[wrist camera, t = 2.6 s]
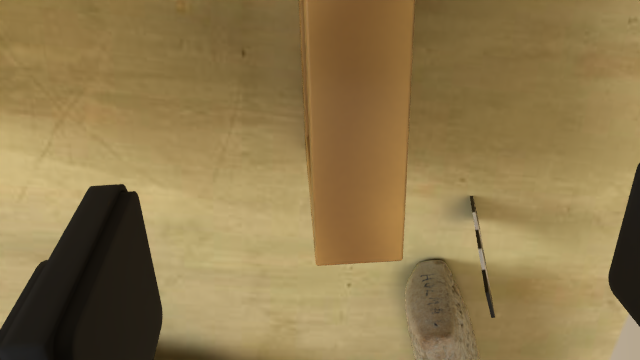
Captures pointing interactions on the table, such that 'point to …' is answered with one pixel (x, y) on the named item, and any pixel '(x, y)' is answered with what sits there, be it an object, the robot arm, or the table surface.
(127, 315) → the robot arm
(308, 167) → the frame
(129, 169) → the table surface
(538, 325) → the table surface
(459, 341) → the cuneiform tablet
